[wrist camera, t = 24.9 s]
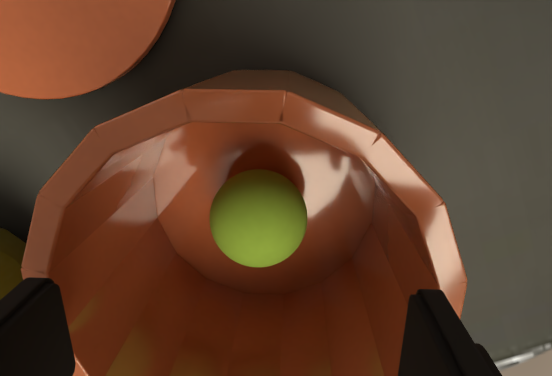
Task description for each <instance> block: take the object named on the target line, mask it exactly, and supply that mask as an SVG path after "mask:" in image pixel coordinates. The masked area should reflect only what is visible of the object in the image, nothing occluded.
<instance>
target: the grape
mask: <svg viewBox="0 0 552 376" xmlns="http://www.w3.org/2000/svg"><path fill="white" fill-rule="evenodd" d="M307 220H308V219H307V209H306V204H305V201H304V199H303V197H302V195H301V193H300V192H299V190H298V189H297V187H296V186H295V185H294V184H293V183H292V182H291V181H290V180H289V179H287V178H286V177H284V176H283V175H281V174H279V173H276V172H273V171H269V170H263V169H253V170H247V171H244V172H241V173H239V174H237V175H235V176H233V177H232V178H230V179H229V180H228V181H226V182H225V183H224V184H223V185H222V186H221V188H220V189H219V190H218V192H217V193H216V195H215V197H214V199H213V202H212V205H211V209H210V228H211V232H212V235H213V238H214V240H215V242H216V244H217V245H218V247H219V248H220V249H221V251H222V252H223V253H224V254H225V255H226V256H228V257H229V258H230V259H232V260H233V261H235V262H237V263H239V264H242V265H245V266H249V267H268V266H272V265H275V264H277V263H280V262H282V261H283V260H285V259H287V258H288V257H289V256H290V255H291V254H292V253H294V251H295V250H296V249H297V248H298V247H299V245H300V243H301V242H302V240H303V237H304V235H305V232H306V228H307Z"/></svg>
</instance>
